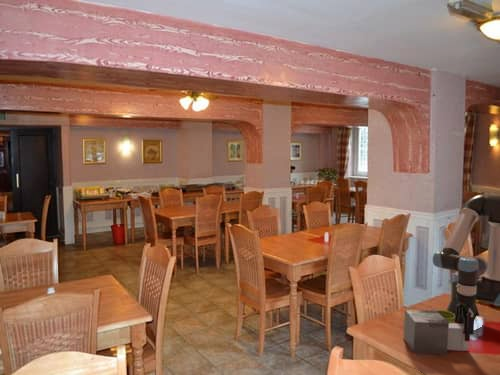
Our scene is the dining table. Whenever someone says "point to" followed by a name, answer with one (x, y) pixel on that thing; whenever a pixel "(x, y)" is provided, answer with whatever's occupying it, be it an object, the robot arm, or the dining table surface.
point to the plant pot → (447, 315)
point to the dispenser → (426, 332)
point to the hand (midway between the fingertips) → (462, 343)
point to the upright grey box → (455, 337)
